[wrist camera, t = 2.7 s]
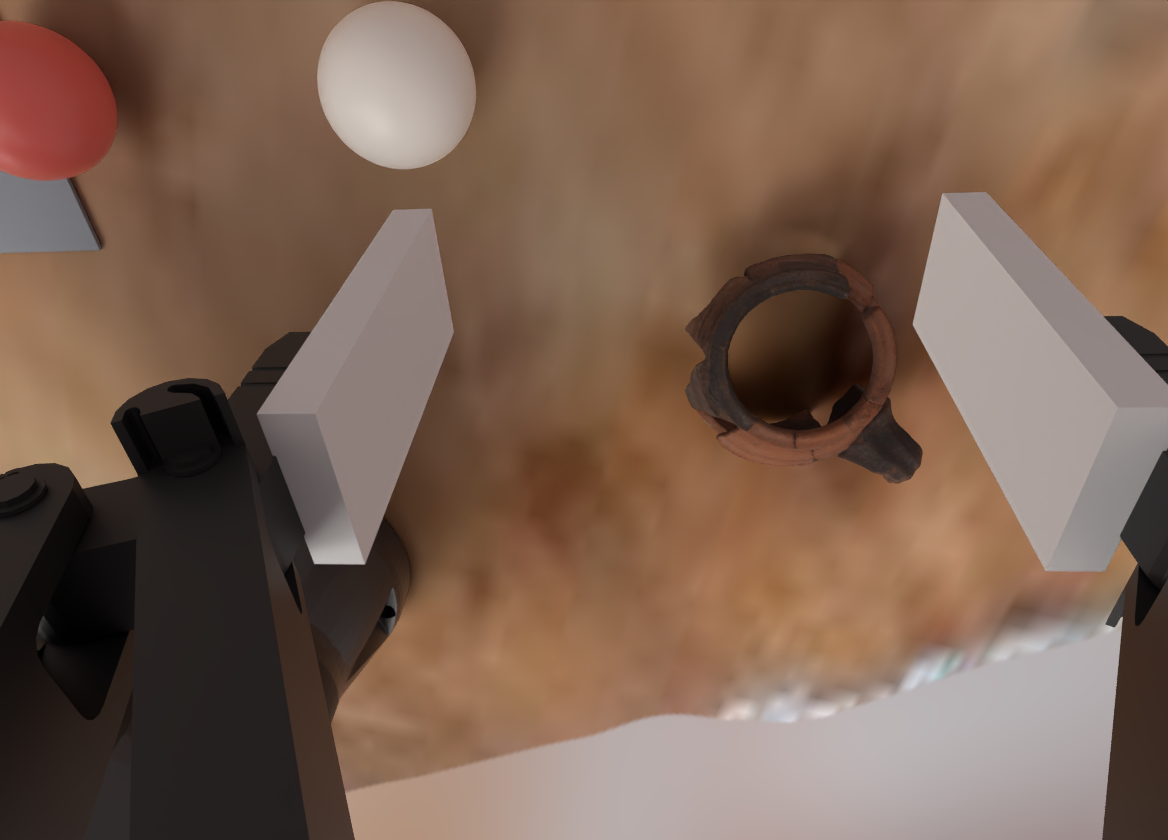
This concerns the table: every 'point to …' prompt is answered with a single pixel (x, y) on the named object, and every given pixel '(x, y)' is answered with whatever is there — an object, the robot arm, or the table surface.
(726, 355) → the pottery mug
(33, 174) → the red ball
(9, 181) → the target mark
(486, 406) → the table surface
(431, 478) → the table surface
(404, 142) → the cue ball
